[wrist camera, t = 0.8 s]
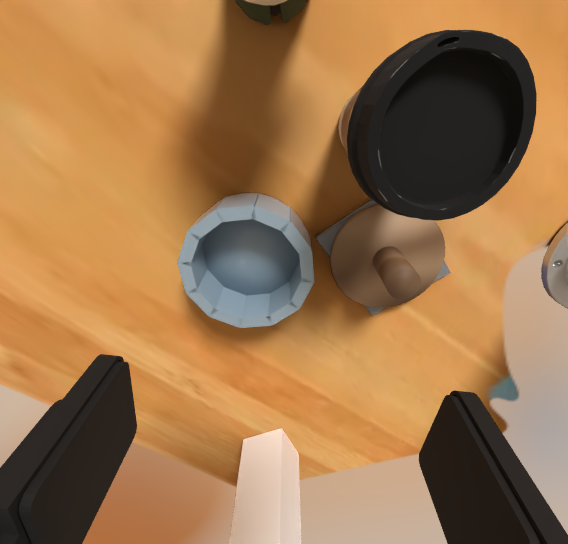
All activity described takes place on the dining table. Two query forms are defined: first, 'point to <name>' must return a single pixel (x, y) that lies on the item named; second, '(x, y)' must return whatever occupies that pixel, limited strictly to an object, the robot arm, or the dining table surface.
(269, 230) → the bowl
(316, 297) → the dining table surface
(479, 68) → the coffee cup
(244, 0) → the character mug
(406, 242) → the lid
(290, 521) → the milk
